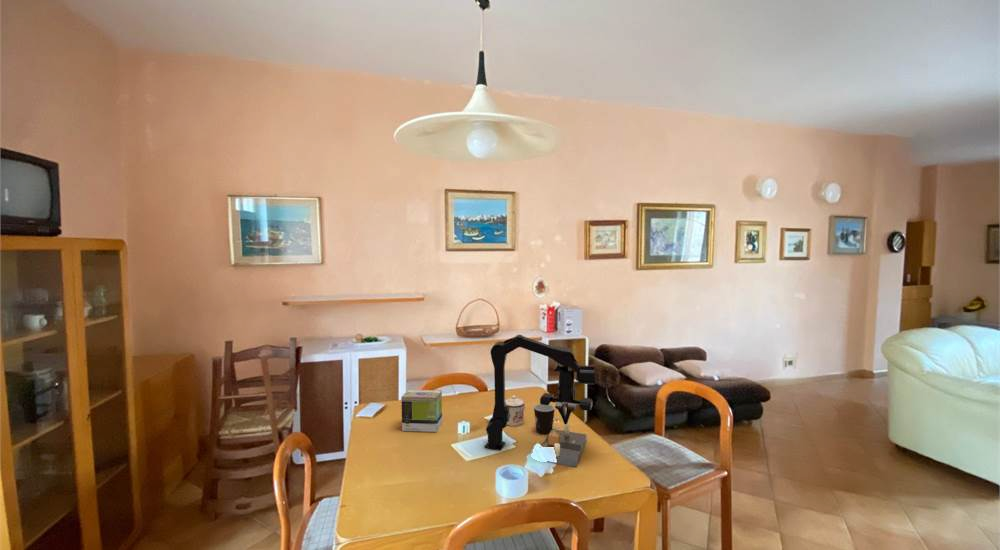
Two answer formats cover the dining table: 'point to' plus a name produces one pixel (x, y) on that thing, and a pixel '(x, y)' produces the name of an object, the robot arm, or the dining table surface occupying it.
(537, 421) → the coffee mug
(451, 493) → the dining table surface
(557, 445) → the cylinder
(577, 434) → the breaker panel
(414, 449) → the dining table surface
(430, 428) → the tea box
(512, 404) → the teacup with lid
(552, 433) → the block
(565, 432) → the peg
